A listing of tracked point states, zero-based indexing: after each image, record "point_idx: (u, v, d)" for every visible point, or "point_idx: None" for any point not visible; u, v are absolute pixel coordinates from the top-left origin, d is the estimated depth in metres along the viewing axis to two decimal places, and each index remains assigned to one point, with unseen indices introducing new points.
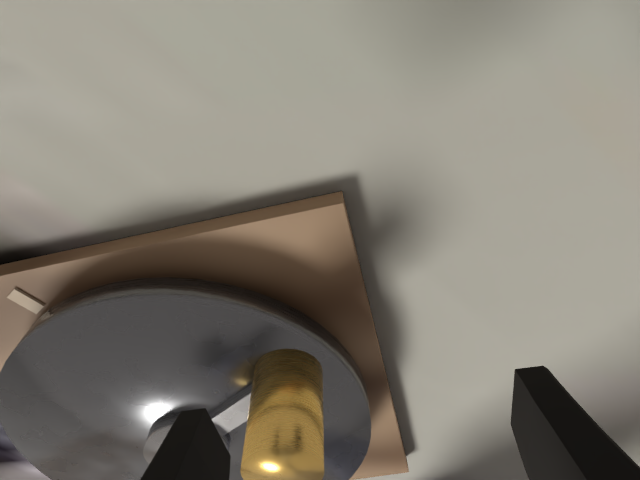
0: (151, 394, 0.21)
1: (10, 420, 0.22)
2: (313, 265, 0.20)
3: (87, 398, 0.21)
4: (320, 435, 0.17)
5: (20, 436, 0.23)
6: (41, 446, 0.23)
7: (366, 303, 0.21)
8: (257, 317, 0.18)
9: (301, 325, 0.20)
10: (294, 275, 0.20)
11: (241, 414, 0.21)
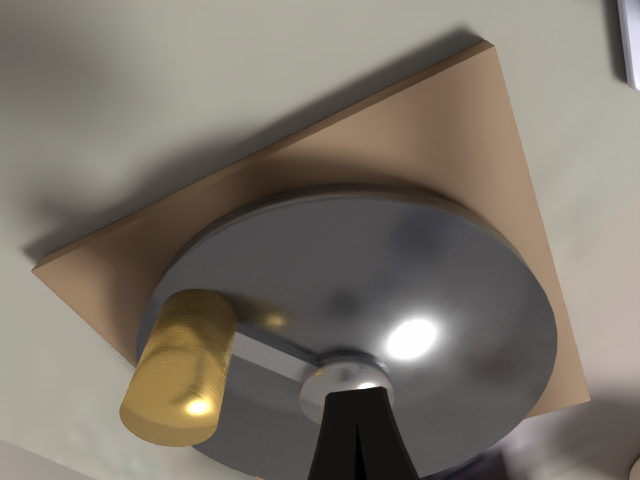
0: (280, 409, 0.21)
1: None
2: (109, 279, 0.20)
3: (301, 445, 0.23)
4: (143, 365, 0.14)
5: None
6: None
7: (132, 223, 0.18)
8: (136, 350, 0.19)
9: None
10: (130, 291, 0.20)
11: (270, 356, 0.19)
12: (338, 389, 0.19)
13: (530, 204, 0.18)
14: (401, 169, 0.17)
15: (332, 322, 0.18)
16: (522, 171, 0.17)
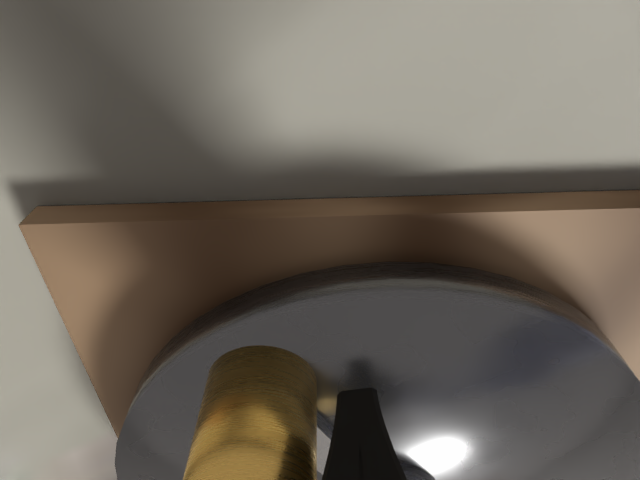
0: None
1: None
2: (134, 276, 0.13)
3: None
4: (226, 476, 0.09)
5: None
6: None
7: (218, 220, 0.12)
8: (142, 394, 0.13)
9: (190, 339, 0.13)
10: (153, 300, 0.14)
11: (326, 453, 0.14)
12: None
13: None
14: (576, 286, 0.14)
15: (419, 433, 0.14)
16: None
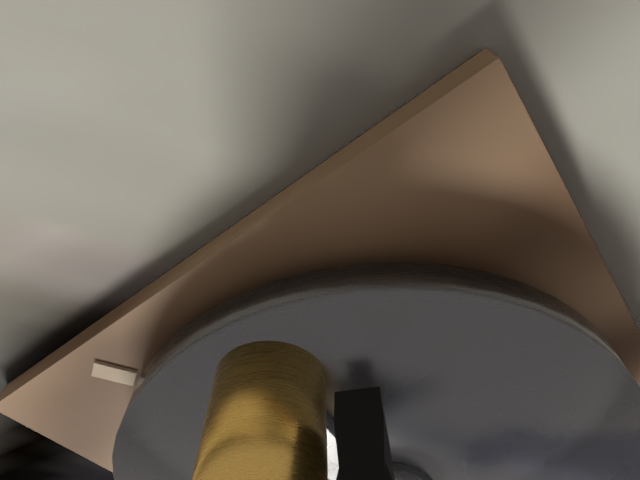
0: None
1: None
2: (476, 189, 0.12)
3: None
4: (242, 471, 0.09)
5: None
6: None
7: (582, 224, 0.13)
8: (147, 386, 0.13)
9: (199, 332, 0.12)
10: (451, 217, 0.12)
11: (330, 452, 0.14)
12: None
13: None
14: None
15: (423, 435, 0.14)
16: None
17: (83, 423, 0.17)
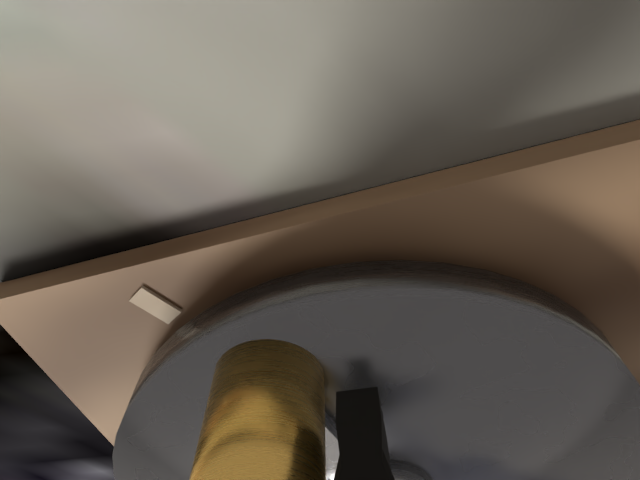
0: None
1: None
2: (601, 234, 0.13)
3: None
4: (239, 469, 0.09)
5: None
6: None
7: None
8: (146, 385, 0.13)
9: (198, 331, 0.13)
10: (566, 252, 0.13)
11: (329, 451, 0.14)
12: None
13: None
14: None
15: (422, 433, 0.14)
16: None
17: (82, 350, 0.15)
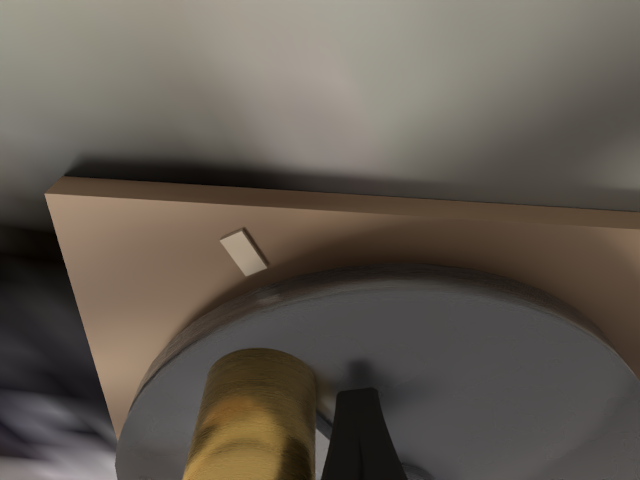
0: None
1: None
2: None
3: None
4: None
5: None
6: None
7: None
8: (142, 397, 0.13)
9: (189, 341, 0.13)
10: (633, 313, 0.14)
11: (326, 455, 0.14)
12: None
13: None
14: None
15: (419, 434, 0.14)
16: None
17: (132, 277, 0.13)
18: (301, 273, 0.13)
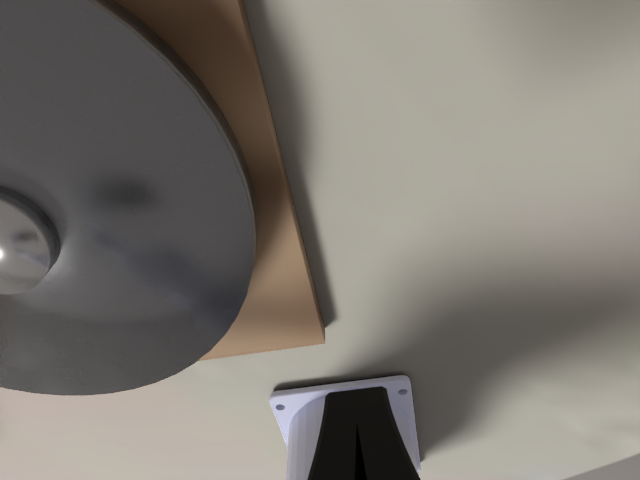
0: None
1: (55, 388, 0.21)
2: None
3: None
4: None
5: (83, 386, 0.21)
6: (96, 374, 0.21)
7: (243, 29, 0.15)
8: None
9: None
10: None
11: None
12: None
13: None
14: (250, 286, 0.21)
15: None
16: (230, 353, 0.23)
17: None
18: None
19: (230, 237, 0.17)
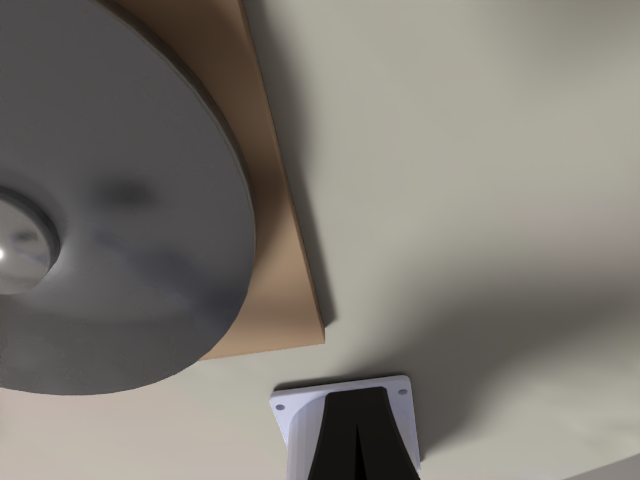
0: None
1: (55, 388, 0.21)
2: None
3: None
4: None
5: (83, 386, 0.21)
6: (96, 374, 0.21)
7: (243, 30, 0.15)
8: None
9: None
10: None
11: None
12: None
13: None
14: (250, 287, 0.21)
15: None
16: (230, 353, 0.23)
17: None
18: None
19: (230, 237, 0.17)
